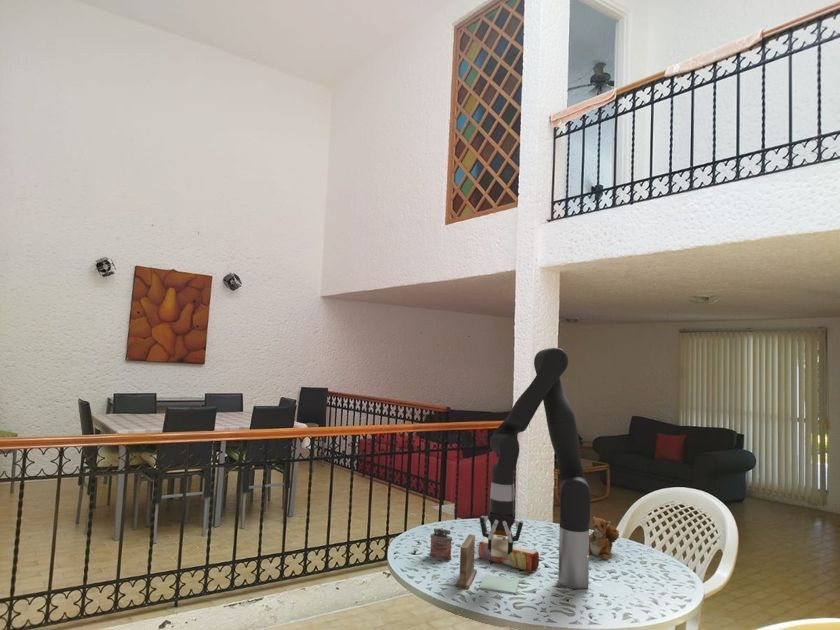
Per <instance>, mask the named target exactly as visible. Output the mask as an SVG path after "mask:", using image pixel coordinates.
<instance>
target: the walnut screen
mask: <svg viewBox="0 0 840 630" xmlns="http://www.w3.org/2000/svg"><path fill="white" fill-rule="evenodd" d="M475 544H476V534H473V533H469V534H468V535H467V536H466V538H465V540H464V541H463V543H462V544H461V546H460V557H459V578H458V580H457V581H456V584H455V588H459V589H465V590H470V588H471V585H472V583H473V581H474V579H475V578H476V575H477V573H478V569H475V551H476V550H475V546H476V545H475Z"/></svg>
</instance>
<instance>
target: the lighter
mask: <svg viewBox="0 0 840 630" xmlns="http://www.w3.org/2000/svg"><path fill="white" fill-rule="evenodd" d="M449 535H451V530H450V529H446V528H443V527H439V528H437V527H434V528H433V532H432V533H430V551H429V552H430V553H429V557H430V558H433V559H435V558H436V560H441V561H445V560H446V562H447V561H448V562H449V561H451V560H452V541H453V537H452V536H449Z"/></svg>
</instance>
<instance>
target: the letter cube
mask: <svg viewBox="0 0 840 630" xmlns="http://www.w3.org/2000/svg"><path fill="white" fill-rule="evenodd" d="M508 542H509V540H508V537H507V536H500V535H494V536H493V538H492V542H491V556H496V557H503V558H507V557H508V555H509V554H508Z"/></svg>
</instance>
